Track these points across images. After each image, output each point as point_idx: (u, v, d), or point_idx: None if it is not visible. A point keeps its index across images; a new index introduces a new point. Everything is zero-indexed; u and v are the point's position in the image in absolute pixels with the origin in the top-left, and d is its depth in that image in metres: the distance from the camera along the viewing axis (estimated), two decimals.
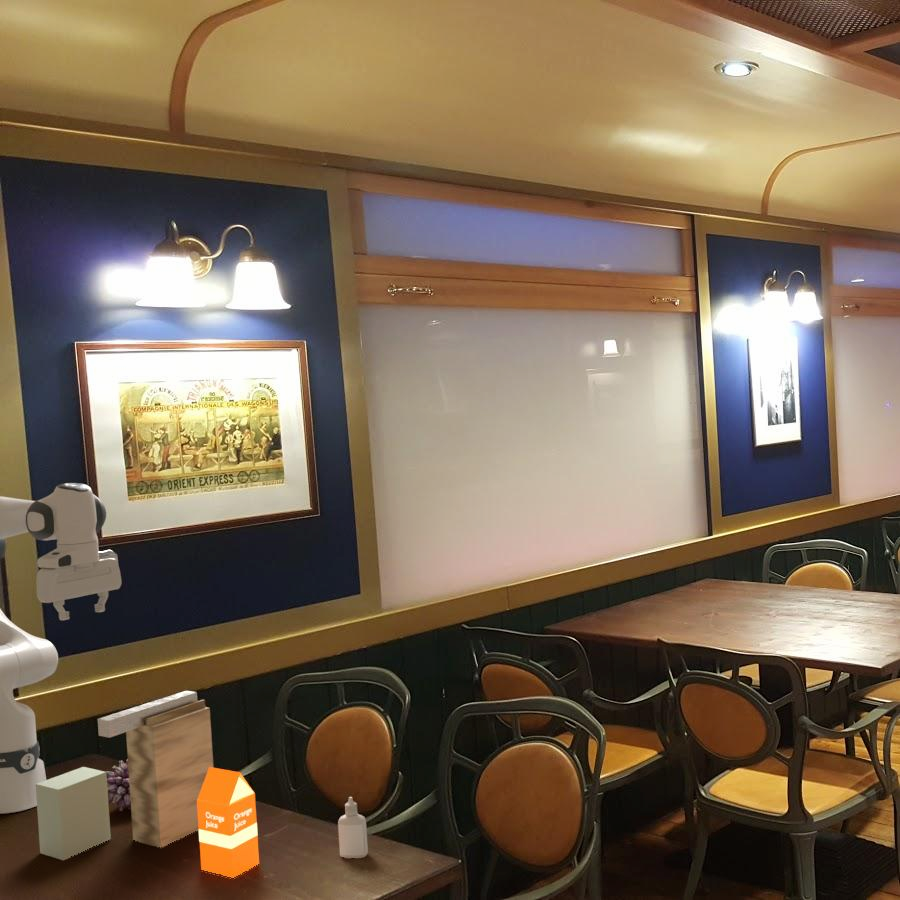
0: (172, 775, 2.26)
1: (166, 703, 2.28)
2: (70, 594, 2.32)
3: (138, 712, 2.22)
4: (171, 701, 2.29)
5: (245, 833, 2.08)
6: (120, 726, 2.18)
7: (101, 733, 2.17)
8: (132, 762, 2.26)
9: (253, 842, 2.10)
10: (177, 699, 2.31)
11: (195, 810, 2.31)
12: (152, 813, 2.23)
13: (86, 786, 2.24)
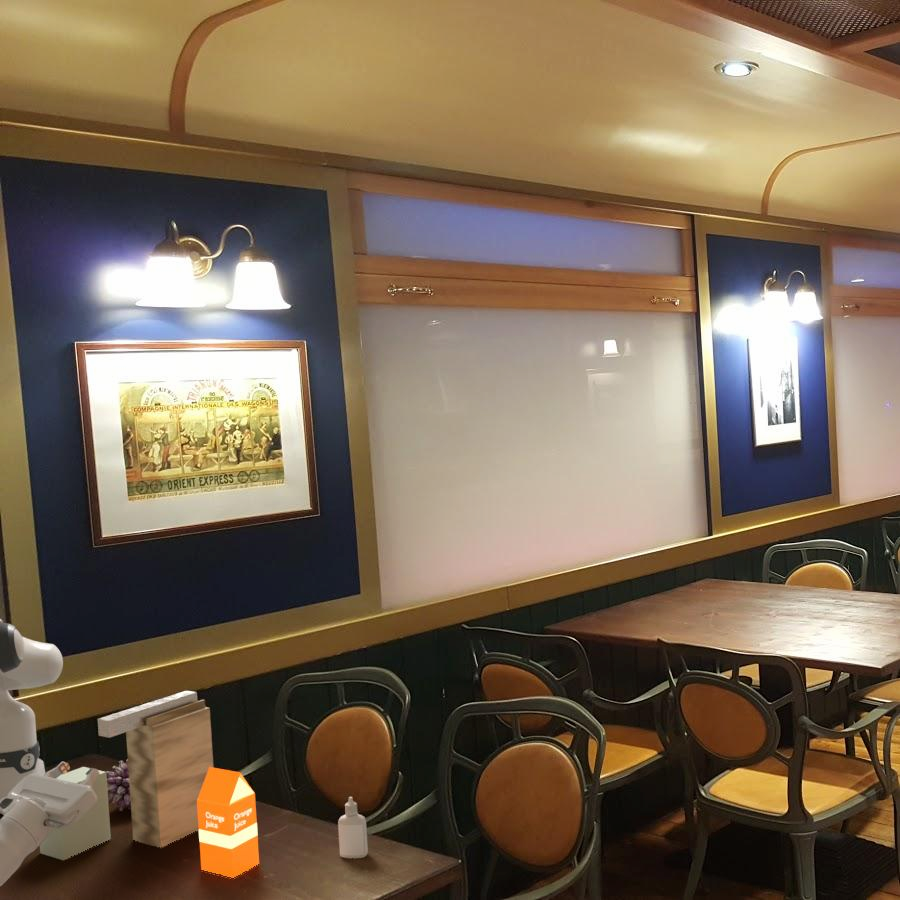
0: (172, 775, 2.26)
1: (166, 703, 2.28)
2: None
3: (138, 712, 2.22)
4: (171, 701, 2.29)
5: (245, 833, 2.08)
6: (120, 726, 2.18)
7: (101, 733, 2.17)
8: (132, 762, 2.26)
9: (253, 842, 2.10)
10: (177, 699, 2.31)
11: (195, 810, 2.31)
12: (152, 813, 2.23)
13: None
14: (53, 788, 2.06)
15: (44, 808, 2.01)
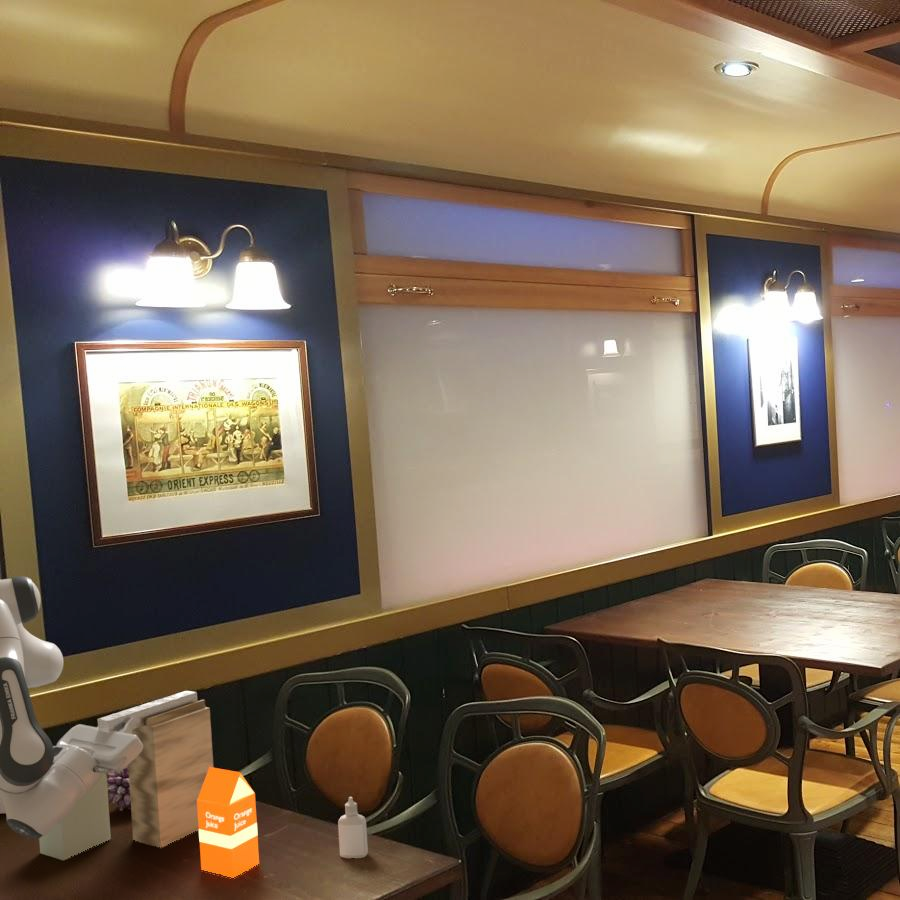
0: (172, 775, 2.26)
1: (166, 703, 2.28)
2: None
3: (138, 712, 2.22)
4: (171, 701, 2.29)
5: (245, 833, 2.08)
6: (120, 726, 2.18)
7: None
8: (132, 762, 2.26)
9: (253, 842, 2.10)
10: (177, 699, 2.31)
11: (195, 810, 2.31)
12: (152, 813, 2.23)
13: None
14: (100, 737, 2.15)
15: (93, 755, 2.11)
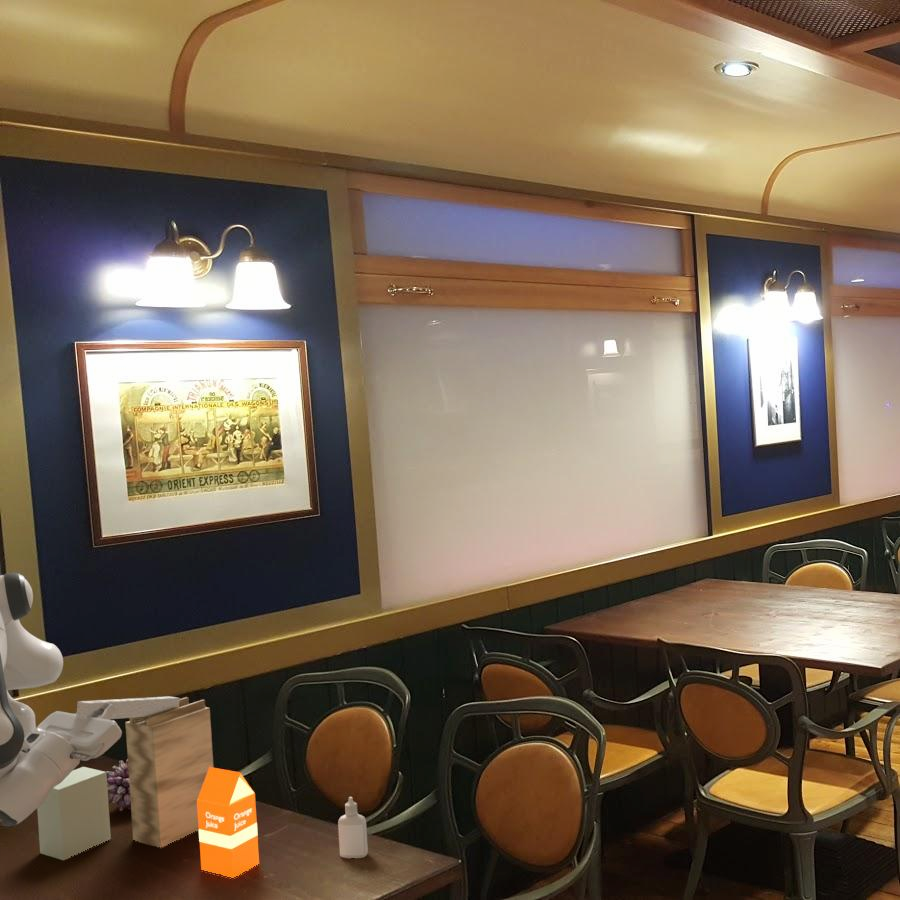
0: (172, 775, 2.26)
1: (148, 701, 2.24)
2: None
3: (119, 702, 2.18)
4: (153, 700, 2.25)
5: (245, 833, 2.08)
6: (99, 712, 2.14)
7: (79, 716, 2.13)
8: (132, 762, 2.26)
9: (253, 842, 2.10)
10: (159, 700, 2.27)
11: (195, 810, 2.31)
12: (152, 813, 2.23)
13: (86, 786, 2.24)
14: (78, 724, 2.11)
15: (70, 742, 2.06)
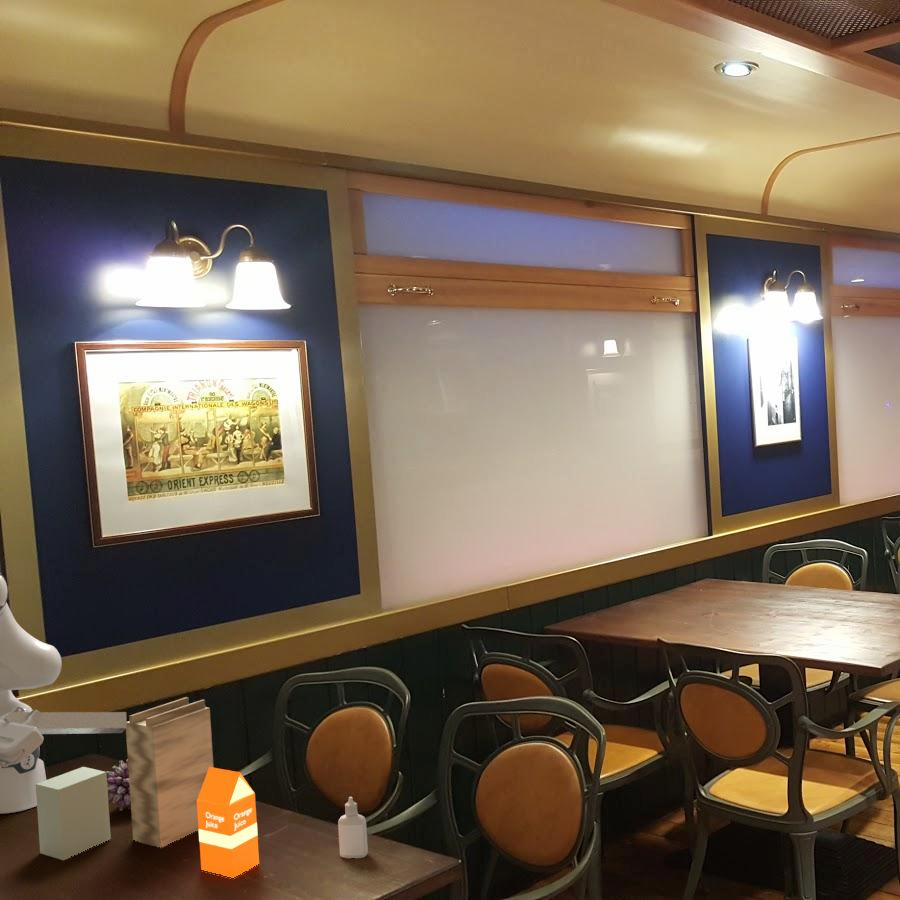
0: (172, 775, 2.26)
1: (85, 713, 2.22)
2: None
3: (48, 713, 2.18)
4: (92, 713, 2.23)
5: (245, 833, 2.08)
6: None
7: None
8: (132, 762, 2.26)
9: (253, 842, 2.10)
10: (100, 713, 2.24)
11: (195, 810, 2.31)
12: (152, 813, 2.23)
13: (86, 786, 2.24)
14: (1, 729, 2.12)
15: None
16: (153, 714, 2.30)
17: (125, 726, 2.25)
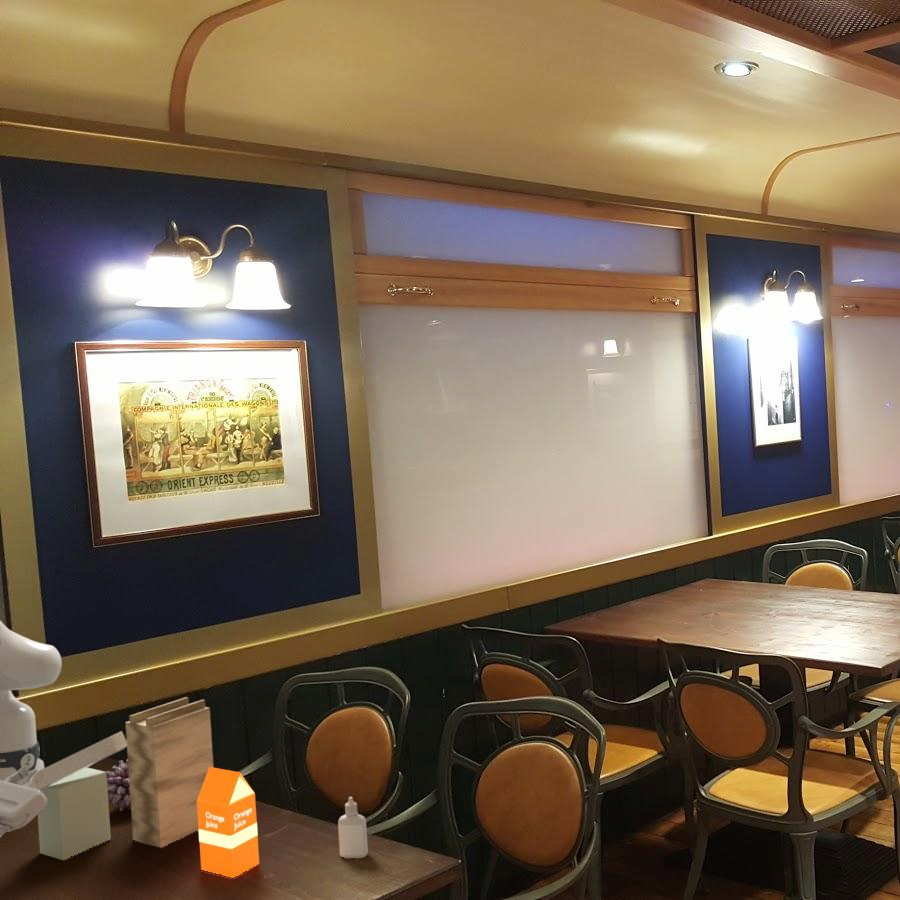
0: (172, 775, 2.26)
1: (86, 749, 2.25)
2: None
3: (52, 765, 2.20)
4: (91, 746, 2.26)
5: (245, 833, 2.08)
6: None
7: None
8: (132, 762, 2.26)
9: (253, 842, 2.10)
10: (98, 743, 2.27)
11: (195, 810, 2.31)
12: (152, 813, 2.23)
13: (86, 786, 2.24)
14: (5, 792, 2.12)
15: None
16: (153, 714, 2.30)
17: (126, 744, 2.30)
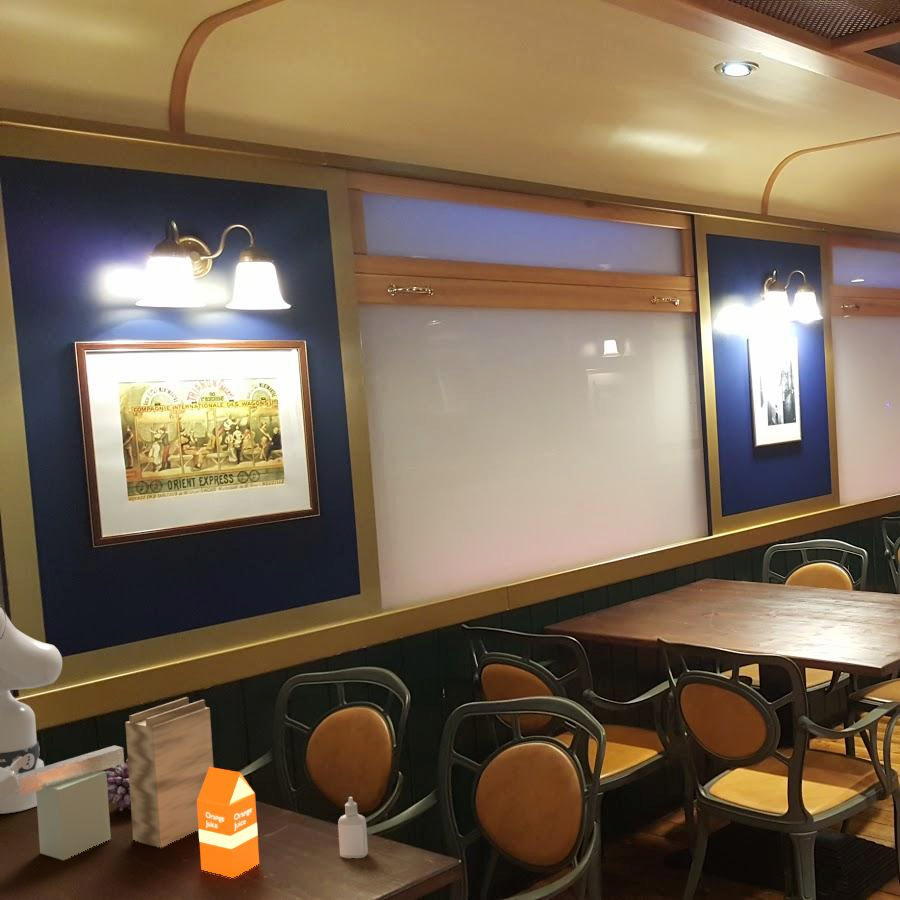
0: (172, 775, 2.26)
1: (80, 756, 2.29)
2: None
3: (46, 766, 2.23)
4: (85, 754, 2.30)
5: (245, 833, 2.08)
6: (29, 773, 2.19)
7: (18, 790, 2.16)
8: (132, 762, 2.26)
9: (253, 842, 2.10)
10: (92, 752, 2.31)
11: (195, 810, 2.31)
12: (152, 813, 2.23)
13: (86, 786, 2.24)
14: None
15: None
16: (153, 714, 2.30)
17: (121, 747, 2.33)
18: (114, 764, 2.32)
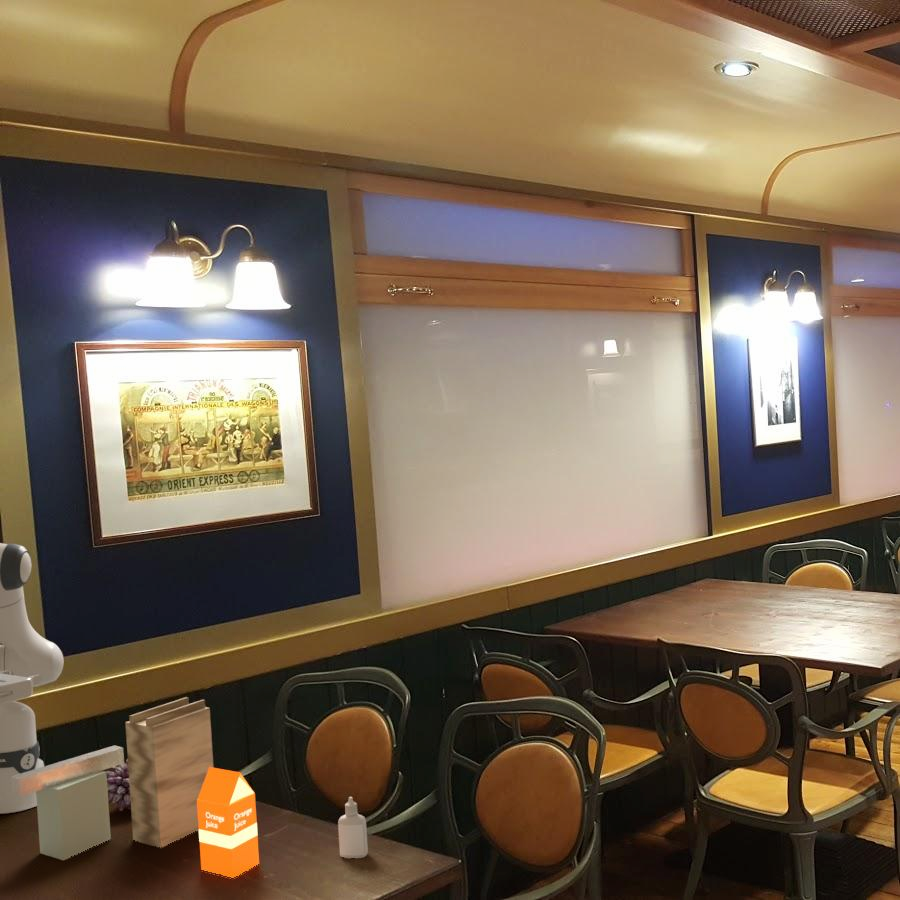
0: (172, 775, 2.26)
1: (80, 756, 2.29)
2: None
3: (46, 766, 2.23)
4: (85, 754, 2.30)
5: (245, 833, 2.08)
6: (29, 773, 2.19)
7: (18, 790, 2.16)
8: (132, 762, 2.26)
9: (253, 842, 2.10)
10: (92, 752, 2.31)
11: (195, 810, 2.31)
12: (152, 813, 2.23)
13: (86, 786, 2.24)
14: None
15: None
16: (153, 714, 2.30)
17: (121, 747, 2.33)
18: (114, 764, 2.32)
